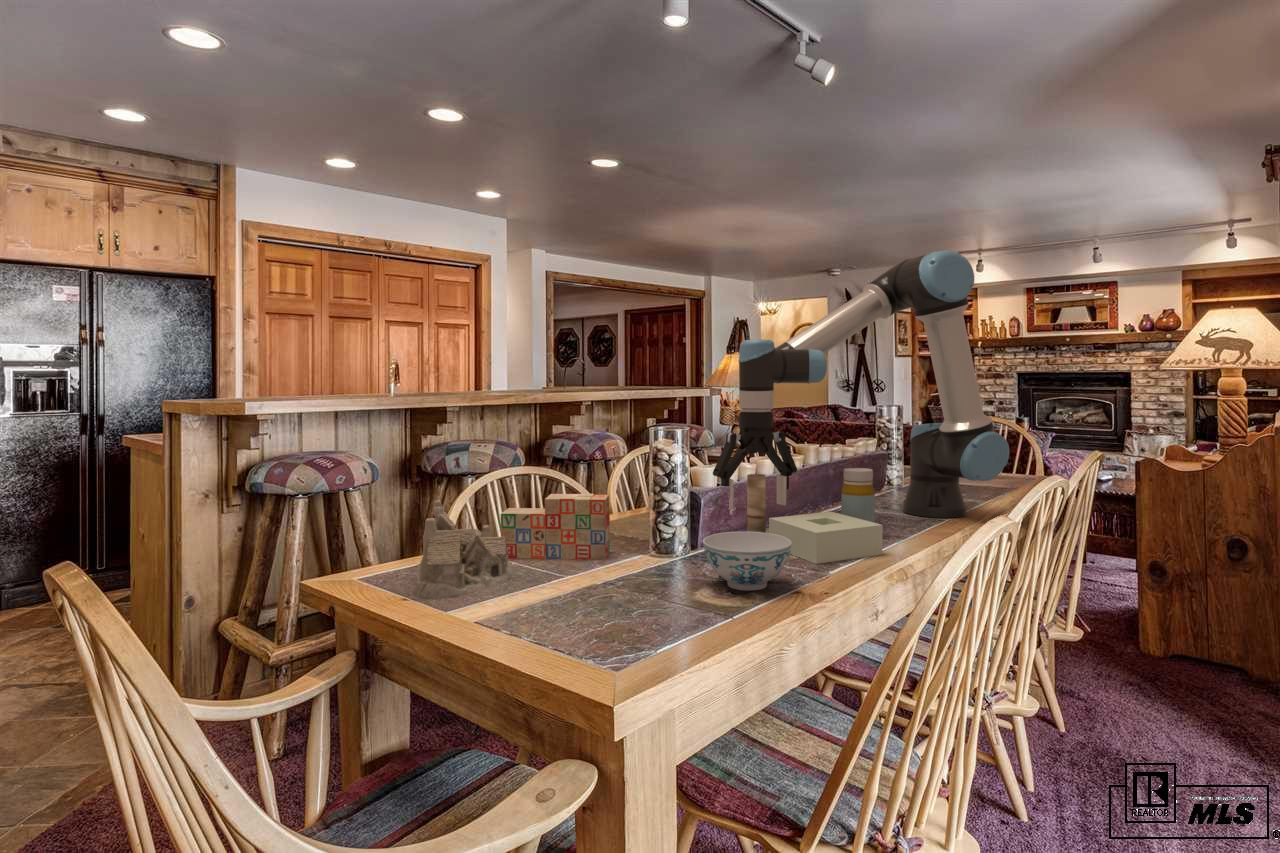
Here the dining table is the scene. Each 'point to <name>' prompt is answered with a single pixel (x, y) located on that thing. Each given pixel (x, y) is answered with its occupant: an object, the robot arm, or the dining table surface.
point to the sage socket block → (829, 536)
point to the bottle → (858, 494)
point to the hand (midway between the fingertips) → (755, 506)
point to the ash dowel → (756, 503)
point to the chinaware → (747, 557)
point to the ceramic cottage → (459, 559)
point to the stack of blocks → (559, 528)
